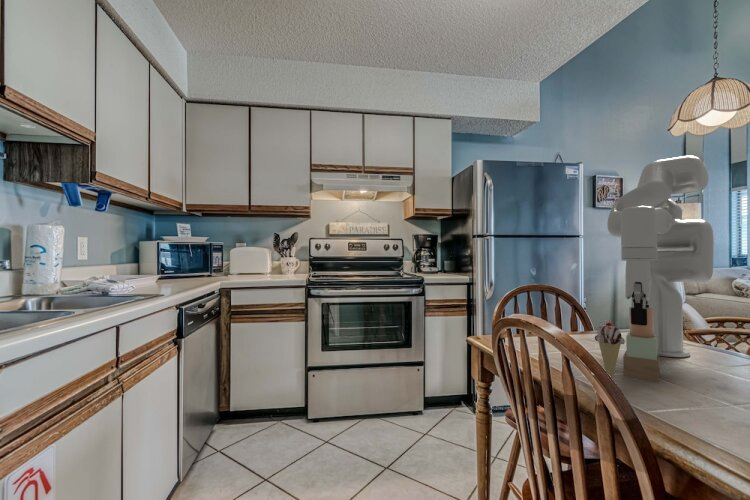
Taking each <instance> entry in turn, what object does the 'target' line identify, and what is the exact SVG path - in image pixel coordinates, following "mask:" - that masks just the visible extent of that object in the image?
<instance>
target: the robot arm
mask: <svg viewBox="0 0 750 500" xmlns="http://www.w3.org/2000/svg"><path fill="white" fill-rule="evenodd" d="M708 183H709V173H708V169H707V167H706V166H705V164H704V162H703V161H702V160H701V159H700V158H699V157H698V156H694V155H683V156H678V157H672V158H665V159H658V160H655V161H651V162H649V163H648V164H646V165H645V166H644V167H643V169H642V171H641V173H640V176H639V180H638V184H637V186H636V187H635V188H633V189H632V190H630V191H628V192H627V193H625V194H623V195H622V196H620V197H619V198H618V199H616V200H615V202H614V203H613V204H612V206H611V209H610V211H609V214H608V218H607V223H606V224H607V230H608V232H609V234H610V235H611V236H614V238H615V237H617V238H620V246H621V247H620V250H621V251H620V257H621V260H620V261H625V292H624V295H625V296H624V298H625V299H626V300H630V299H631V307H632V308H631V324H633V325H644V326H646V325H647V309H646V308H653V312H654V335H657V355H659V357H669V358H688V357H690V355H691V351H689V349H686V348H684V330H683V329H684V328H683V327H684V321H683V297H682V294H681V293H680V291H679V290H678V289H677V288H676V287H675V286H674V285H673V284H672V283H705V282H708V281H710V280H711V278H712V277H713V273H714V245H715V243H714V230H713V226H712V225H711V223H710V222H709V221H708V220H704V219H684V220H683V209H682V207H681V206H680V205H679V204H678V203H677V202H675V201H674V200H673V199H671V196H672V195H680V194H689V193H698V192H702V191H703V190H705V189H706V188H707V186H708Z"/></svg>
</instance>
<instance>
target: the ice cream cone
mask: <svg viewBox="0 0 750 500" xmlns="http://www.w3.org/2000/svg"><path fill="white" fill-rule="evenodd" d="M594 340H595V341H596V342H598V344H599V349H600V352H601V357H602V361H603V365H604V369H605V372H606V371H607V373H608V374H609V375H610V376H611V378H612V379H614V376H615V375H614V374H615V370H616V367H617V361H618V357H619V353H620V348H621V345H625V343H626V339H625V338H624V337H622V333H621V331H620V330H619V328H618V327H616V326H614V325H613V323H611V322H607V323H606V324H605V325H602V326H599V328H598V330H597V334H596V335H595V336H594ZM607 373H606V374H607Z"/></svg>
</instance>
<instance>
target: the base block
mask: <svg viewBox="0 0 750 500" xmlns="http://www.w3.org/2000/svg"><path fill="white" fill-rule="evenodd" d="M622 358H623V376H624V377H630V378H635V379H643V380H648V381H652V382H653V381H655V382H660V375H661V373H660V356H659V355H657V360H651V359H643V358H636V357H628V356H627V350H625V352H624V354H623V357H622Z"/></svg>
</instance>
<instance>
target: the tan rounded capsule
mask: <svg viewBox="0 0 750 500" xmlns="http://www.w3.org/2000/svg"><path fill="white" fill-rule="evenodd" d="M631 308H632V306H630V307H628V311H629V312H628V313H629V314H628V315H629V316H628V317H629V318H628V319H629V333H630V335H631V336H635V337H642V338H653V337H654V312H653V308H646V309H647V325H646V326H644V325H633V324H631Z"/></svg>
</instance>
